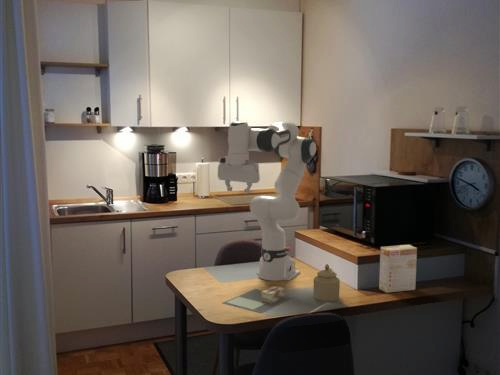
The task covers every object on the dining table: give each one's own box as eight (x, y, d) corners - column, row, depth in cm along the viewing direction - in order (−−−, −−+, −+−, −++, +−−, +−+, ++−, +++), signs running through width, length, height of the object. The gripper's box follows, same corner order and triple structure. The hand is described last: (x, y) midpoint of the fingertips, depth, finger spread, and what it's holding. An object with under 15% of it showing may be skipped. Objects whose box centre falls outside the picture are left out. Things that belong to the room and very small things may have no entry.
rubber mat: (255, 290, 255) (255, 288, 255) (293, 299, 243) (293, 297, 243) (221, 304, 236) (221, 302, 236) (261, 314, 224) (261, 313, 224)
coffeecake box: (406, 285, 264) (408, 244, 261) (415, 290, 257) (417, 247, 254) (378, 288, 259) (379, 246, 256) (386, 293, 252) (388, 250, 250)
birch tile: (274, 294, 247) (274, 285, 246) (284, 297, 244) (284, 287, 243) (261, 301, 239) (261, 291, 238) (271, 303, 236) (271, 293, 235)
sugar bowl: (307, 291, 253) (308, 258, 251) (331, 290, 255) (332, 257, 253) (317, 303, 239) (318, 268, 237) (342, 301, 241) (344, 266, 239)
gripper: (262, 160, 239) (262, 193, 240) (224, 157, 251) (224, 189, 252) (253, 161, 234) (253, 195, 235) (215, 158, 246) (215, 190, 247)
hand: (238, 191), depth 244 cm, fingers open, 8 cm apart
